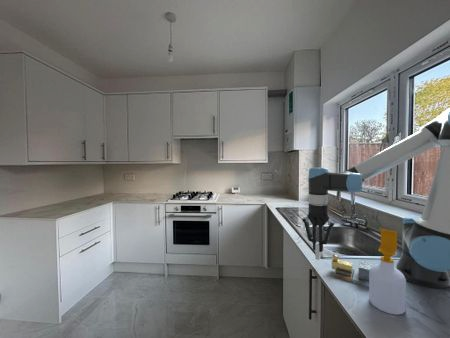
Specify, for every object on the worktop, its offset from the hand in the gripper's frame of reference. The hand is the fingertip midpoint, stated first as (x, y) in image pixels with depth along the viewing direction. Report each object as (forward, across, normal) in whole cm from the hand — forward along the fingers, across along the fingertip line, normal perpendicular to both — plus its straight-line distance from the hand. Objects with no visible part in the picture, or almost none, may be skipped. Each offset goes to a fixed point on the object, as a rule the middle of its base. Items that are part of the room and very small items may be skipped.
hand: (317, 258), depth 90 cm
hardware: (+3, -14, 0) cm, 14 cm away
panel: (+4, -14, 0) cm, 15 cm away
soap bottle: (+4, -23, +13) cm, 27 cm away
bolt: (+2, -9, 0) cm, 9 cm away
